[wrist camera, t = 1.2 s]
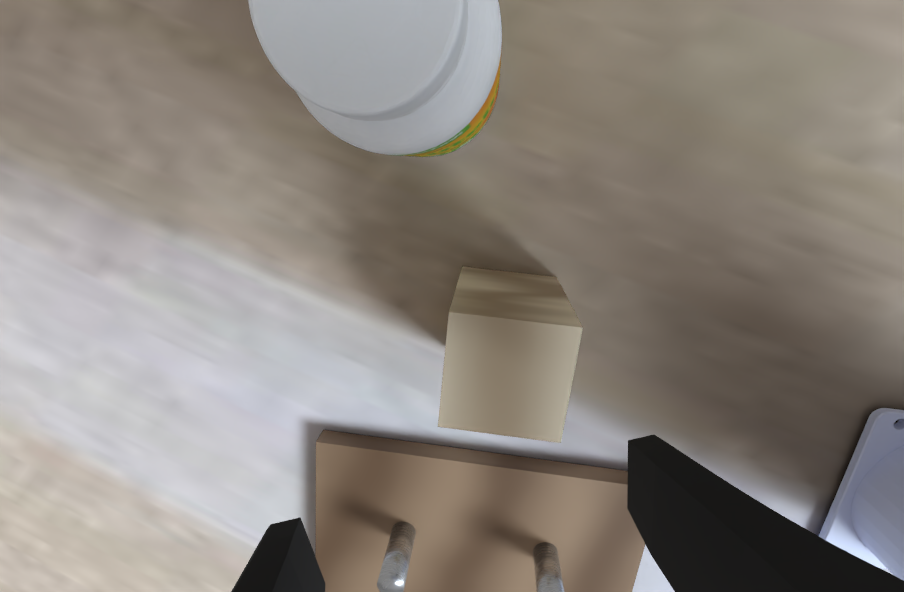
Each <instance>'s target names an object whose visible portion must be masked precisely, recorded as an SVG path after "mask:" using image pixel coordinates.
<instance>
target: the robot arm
mask: <svg viewBox="0 0 904 592" xmlns="http://www.w3.org/2000/svg"><path fill="white" fill-rule="evenodd" d="M897 420H899V421H898V422H897V423H895V422H896V421H897ZM894 423H895V424H894ZM627 509H628V511H629V513H630V515H631V517H632V519H633V521H634V523H635V525H636V527H637V529H638V531H639V533H640V535H641V536H642V538H643V540H644V542H645V544H646V546H647V548H648V550H649V552H650V553H651V555H652V557H653V558H654V560H655V562H656V563H657V565H658V566H659V568H660V569H661V571H662V572H663V574H664V575H665V577H666V578H667V580H668V582H669V583H670V585H671V586H672V588H673V589H674V591H675V592H904V410H899V409H891V408H880V409H877V410H875V411H873V412H872V413H871V415H870V416H869V418H868V421H867V423H866V425H865V428H864V430H863V432H862V435H861V437H860V439H859V442H858V444H857V447H856V449H855V451H854V454H853V456H852V458H851V461H850V463H849V465H848V468H847V470H846V473H845V475H844V477H843V480H842V482H841V484H840V487H839V489H838V491H837V494H836V496H835V498H834V501H833V503H832V506H831V508H830V510H829V513H828V515H827V517H826V520H825V522H824V524H823V527H822V529H821V532H820V534H819V536H817V535H815V534H813V533H812V532H810V531H808V530H806V529H805V528H803V527H801V526H799V525H798V524H796V523H794V522H792V521H790V520H789V519H787V518H785V517H784V516H782V515H780V514H779V513H777V512H775V511H773V510H772V509H770V508H768V507H767V506H765V505H763V504H762V503H760V502H758V501H757V500H755V499H754V498H752V497H750V496H749V495H747V494H745V493H744V492H742V491H741V490H739V489H737V488H736V487H734V486H733V485H731V484H729V483H728V482H726V481H725V480H723V479H722V478H720V477H718V476H717V475H715V474H714V473H712V472H711V471H709V470H708V469H706V468H705V467H703V466H702V465H700V464H698V463H697V462H695V461H694V460H692V459H691V458H689V457H688V456H686V455H685V454H683V453H682V452H680V451H679V450H677V449H676V448H674V447H673V446H671V445H669V444H668V443H666V442H665V441H663V440H662V439H660V438H659V437H657V436H655V435H650V436H646V437H642V438H637V439H633V440H629V441H628V489H627ZM880 568H884V569H888V570H889V571H890V572H891V573H892V574H893V575H892V574H890V573H888V572H886V571H884V570H882V569H880ZM231 592H325V581H324V578H323V576H322V573H321V570H320V568H319V565H318V562H317V560H316V557H315V555H314V552H313V549H312V547H311V544H310V542H309V539H308V536H307V534H306V531H305V528H304V526H303V523H302V521H301V518H296V519H292V520H288V521H284V522H279V523H275V524H271V525H270V526H269V527H268V529H267V530H266V532H265V534H264V536H263V537H262V539H261V541H260V543H259V544H258V546H257V548H256V550H255V551H254V553H253V555H252V557H251V558H250V560H249V562H248V564H247V565H246V567H245V569H244V571H243V572H242V574H241V576H240V578H239V579H238V581H237V583H236V584H235V586H234V588H233V590H232V591H231Z"/></svg>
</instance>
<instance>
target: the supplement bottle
mask: <svg viewBox="0 0 904 592" xmlns="http://www.w3.org/2000/svg"><path fill="white" fill-rule="evenodd" d="M248 3H249V9H250V14H251V18H252V22H253V25H254V28H255V31H256V34H257V37H258V39H259V42H260V44H261V46H262V48H263V50H264V52H265V54H266V56H267V58H268V59H269V61H270V62H271V64H272V65H273V67H274V68H275V70H276V71H277V72H278V74H279V75H280V76H281V77H282V78H283V79H284V81H285V82H286V83H287V84H288V85H289V86H290V87H291V88H292V89H293V90H295V91H296V93H297V94H298V96H299V98H300V99H301V101H302V102H303V104H304V105H305V107H306V108H307V109H308V111H309V112H310V113H311V114H312V115H313V116H314V118H315V119H316V120H317V121H318V122H319V123H320V124H321V125H323V126H324V127H325V128H326V129H327V130H328V131H330V132H331V133H332V134H334V135H335V136H337V137H338V138H340V139H342V140H343V141H345V142H347V143H349V144H351V145H353V146H355V147H358V148H361V149H363V150H366V151H370V152H373V153H377V154H384V155H402V156H419V157H432V156H440V155H444V154H447V153H450V152H453V151H455V150H457V149H459V148H461V147H462V146H464V145H466V144H467V143H468V142H470V141H471V140H472V139H473V138H474V137H475V136H476V135H477V134H478V133H479V132H480V131H481V129H482V128H483V127H484V125H485V124H486V122H487V121H488V119H489V117H490V115H491V113H492V110H493V108H494V105H495V102H496V98H497V94H498V88H499V77H500V64H501V51H502V25H501V14H500V8H499V2H498V0H248Z"/></svg>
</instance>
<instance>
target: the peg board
mask: <svg viewBox="0 0 904 592" xmlns="http://www.w3.org/2000/svg"><path fill="white" fill-rule="evenodd" d="M627 489H628V471H624V470H617V469H609V468H602V467H594V466H587V465H580V464H572V463H565V462H557V461H550V460H543V459H535V458H528V457H521V456H513V455H506V454H498V453H491V452H484V451H476V450H469V449H461V448H454V447H447V446H439V445H432V444H425V443H417V442H410V441H402V440H395V439H388V438H380V437H373V436H365V435H358V434H351V433H343V432H336V431H329V430H323V431H322V433H321V435H320V436H319V438H318V439H317V441H316V560H317V562H318V565H319V568H320V570H321V573H322V576H323V578H324V581H325V592H632V589H633V586H634V582H635V579H636V575H637V572H638V568H639V564H640V561H641V557H642V554H643V550H644V547H645V542H644V540H643V538H642V536H641V535H640V533H639V531H638V529H637V527H636V525H635V523H634V521H633V519H632V517H631V515H630V513H629V511H628V509H627Z"/></svg>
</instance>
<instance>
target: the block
mask: <svg viewBox="0 0 904 592" xmlns="http://www.w3.org/2000/svg"><path fill="white" fill-rule="evenodd" d="M582 330H583V327H582V325H581V323H580V321H579V319H578V317H577V315H576V313H575V312H574V310H573V308H572V306H571V304H570V302H569V300H568V298H567V296H566V294H565V293H564V291H563V289H562V287H561V285H560V283H559V281H558V279H557V277H553V276H544V275H535V274H526V273H517V272H508V271H499V270H490V269H481V268H472V267H463V266H462V269H461V272H460V276H459V279H458V283H457V286H456V289H455V293H454V296H453V300H452V303H451V306H450V310H449V316H448V326H447V337H446V347H445V357H444V368H443V378H442V389H441V399H440V410H439V420H438V427H444V428H451V429H459V430H467V431H474V432H482V433H489V434H497V435H504V436H512V437H519V438H527V439H535V440H542V441H550V442H557V443H561V439H562V434H563V429H564V423H565V418H566V413H567V408H568V403H569V398H570V392H571V387H572V382H573V377H574V372H575V366H576V361H577V356H578V351H579V346H580V341H581V335H582Z"/></svg>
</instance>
